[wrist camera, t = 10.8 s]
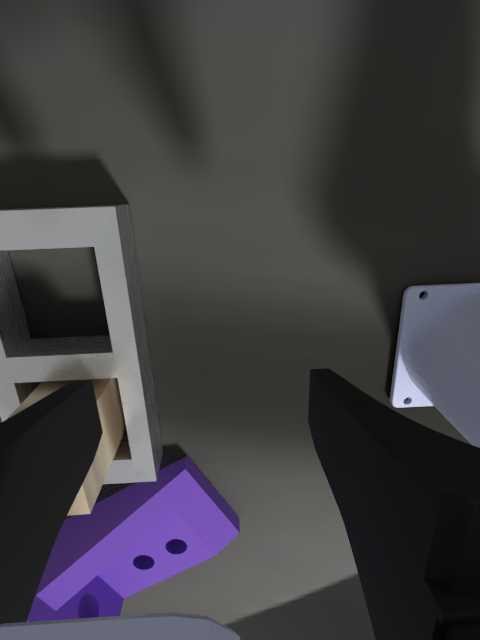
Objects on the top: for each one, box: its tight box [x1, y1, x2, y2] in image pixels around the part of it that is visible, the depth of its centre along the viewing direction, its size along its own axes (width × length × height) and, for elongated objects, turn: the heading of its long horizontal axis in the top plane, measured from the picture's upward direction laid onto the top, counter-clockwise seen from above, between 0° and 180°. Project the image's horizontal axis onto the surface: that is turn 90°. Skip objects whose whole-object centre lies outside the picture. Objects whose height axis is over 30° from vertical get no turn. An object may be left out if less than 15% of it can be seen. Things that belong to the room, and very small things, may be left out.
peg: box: [6, 378, 126, 516], centre depth 19 cm, size 4×4×7 cm
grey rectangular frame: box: [0, 204, 163, 484], centre depth 20 cm, size 8×16×2 cm, turn 2°
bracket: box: [27, 456, 240, 622], centre depth 23 cm, size 12×7×7 cm, turn 121°
